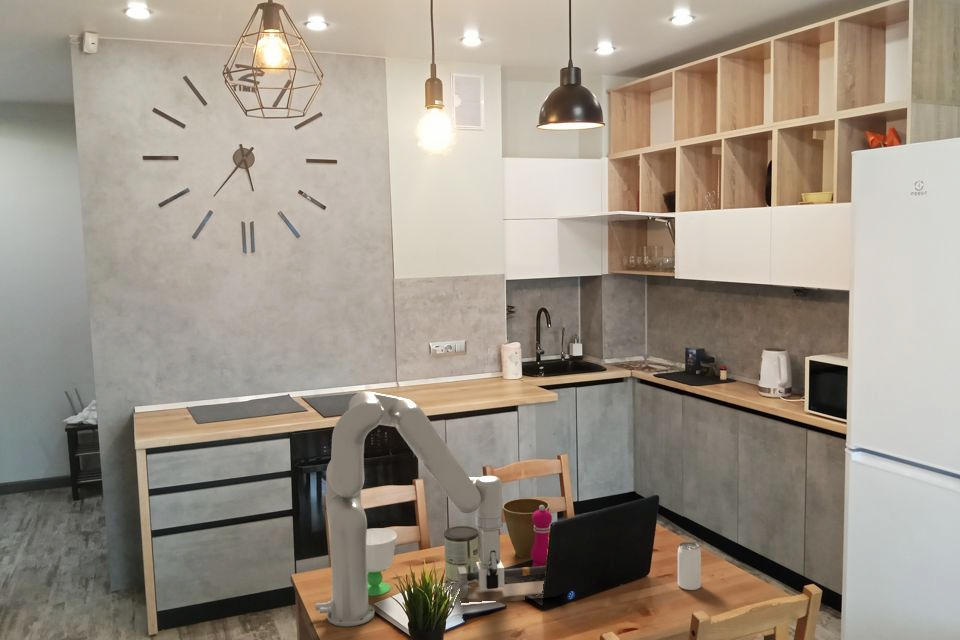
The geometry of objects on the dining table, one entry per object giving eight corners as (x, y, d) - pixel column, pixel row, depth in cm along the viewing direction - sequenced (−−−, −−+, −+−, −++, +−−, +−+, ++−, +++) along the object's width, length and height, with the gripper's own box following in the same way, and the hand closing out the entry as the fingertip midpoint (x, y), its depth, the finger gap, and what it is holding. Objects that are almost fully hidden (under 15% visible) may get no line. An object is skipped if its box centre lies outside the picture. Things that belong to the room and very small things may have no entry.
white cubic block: (479, 589, 222) (479, 569, 222) (476, 581, 228) (476, 562, 227) (504, 587, 223) (504, 567, 223) (500, 579, 229) (500, 560, 228)
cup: (390, 601, 224) (388, 546, 223) (344, 597, 227) (342, 543, 226) (404, 581, 238) (403, 529, 236) (360, 578, 240) (358, 527, 239)
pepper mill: (534, 574, 240) (533, 509, 239) (528, 565, 247) (527, 502, 246) (557, 572, 242) (556, 507, 240) (550, 563, 249) (550, 500, 247)
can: (686, 592, 226) (686, 551, 225) (673, 583, 232) (673, 543, 231) (705, 588, 228) (705, 547, 227) (691, 579, 234) (691, 540, 233)
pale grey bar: (461, 605, 220) (460, 576, 220) (457, 593, 228) (456, 564, 227) (560, 596, 225) (559, 567, 224) (552, 585, 233) (552, 556, 232)
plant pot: (528, 541, 267) (527, 495, 266) (559, 554, 256) (559, 505, 255) (494, 553, 258) (493, 504, 257) (525, 566, 247) (524, 516, 245)
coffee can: (447, 570, 245) (446, 525, 244) (481, 571, 244) (480, 525, 243) (442, 584, 235) (441, 537, 234) (477, 585, 234) (476, 538, 233)
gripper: (471, 512, 232) (472, 572, 233) (481, 532, 215) (482, 597, 216) (496, 510, 233) (497, 570, 234) (508, 530, 216) (509, 595, 217)
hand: (490, 583), depth 225 cm, fingers closed on white cubic block, 5 cm apart
